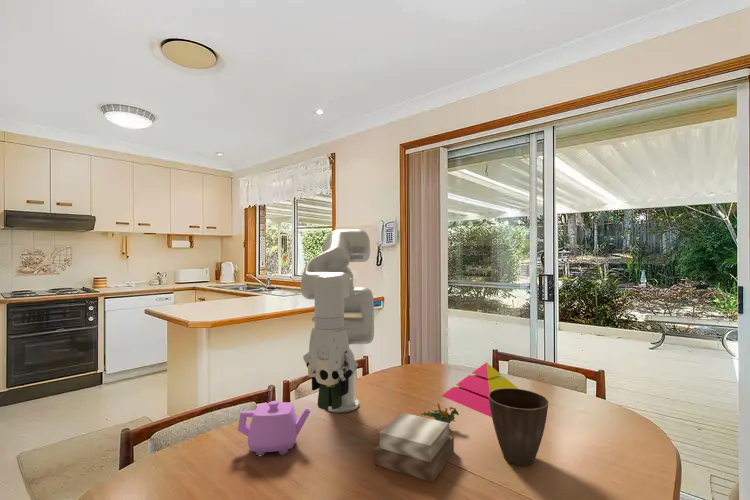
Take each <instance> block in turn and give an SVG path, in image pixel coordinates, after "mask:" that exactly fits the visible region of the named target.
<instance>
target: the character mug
mask: <svg viewBox="0 0 750 500" xmlns="http://www.w3.org/2000/svg"><path fill="white" fill-rule="evenodd" d="M312 368H315V367H314V365H312V364H310V365H308V367H307V377H308V378H312V377H316V380H317V382H318V383H320V384H321V385H320V387H319V388H318V396H317V408H319V409H320V410H323V411H324V410H325V411H328V410H329V407H330V406H332V410H334V409H337V408H339V407H341V406H342V397H341V396H339V380H341V378H340V376H339V374H338V372H337V371H331V370H330V361H329V360H322V359H318V358H316V373H312ZM347 368H348V370H349V368H350V365H349V366H347ZM342 370H343V369H342ZM344 374H345V373H344Z"/></svg>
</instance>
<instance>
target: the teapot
mask: <svg viewBox="0 0 750 500" xmlns="http://www.w3.org/2000/svg"><path fill="white" fill-rule="evenodd" d="M311 410H312V409H311V408H304V411H302V413H301V415H300V416H299V417H297V412H296V409H295V407H294V404H293V403H292V402H286V401H282V402H279V401H277V400H272V401H269V402H267V403H266V402H265V403H260V404H258V405H257V407H256V408H255V409H254V410H253V409H251V410H250V409H249V410H244V409H243V410H242V411H241V412H240V413H239V419H238V426H237V431H238V432H239V433H242V434H243V435H245V436H246V437H247V446H248V448H249V450H250V451H251V452H256V453H255V456H256V455H261V456H260V457H262V455H263V456H265V455H266V453H271V452H272V453H273V452H278V454H279V455H280V454H285V455H287V454H288V453H289V450H291V449H292V448H293V447H294V445H295V443H296V441H297V438H298V435H299V434H300V433H301V430H302V428H303V426H304V424H305V423H306V420H307V419H308V417H309V415H310V413H311ZM247 418H251V421H250V424H248V423H247ZM287 452H288V453H287ZM286 453H287V454H286ZM264 454H265V455H264Z"/></svg>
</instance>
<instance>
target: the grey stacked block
mask: <svg viewBox="0 0 750 500" xmlns="http://www.w3.org/2000/svg"><path fill="white" fill-rule="evenodd" d="M449 427H450V423H447V422H442V421H438V420H436V419H432V418H430V417H429V418H428V417H425V416H419V415H415V414H411V413H406V412H402V413H401V414H399V415H398V416H397V417H396V418H394V419H393V421H391V422H390V423H389V424H388V425H387V426H386V427H384V428H383V429H382V430H381V431H379V444H378V445H377V446H376V447H375V448H374V453H373V454H374V457H373V458H374V466H375V465H376V466H379V467H382V468H385V469H388V470H391V471H394V472H398V473H402V474H405V475H409V476H411V477H414V478H418V479H420V480H424V481H426V482H430V483H434V481H436V479H437V478H438V476H439V474H440V473H441V472H442V470H443V468H444V467H445V465H446V464H447V463H448V461H449V459H450V458H451V457H452V456H453V453H454V452H455V442H454V441H455V440H454V439H455V438H454V436H452V435H450V430H449V429H450V428H449Z"/></svg>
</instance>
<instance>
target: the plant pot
mask: <svg viewBox="0 0 750 500" xmlns="http://www.w3.org/2000/svg"><path fill="white" fill-rule="evenodd" d="M488 396H489V403H490V410H491V415H492V417H491V419H492V424H493V428H494V432H495V436H496V438H497V442H498V445H499V447H500V450H501V452H502V456H503V457H504V460H506V462H508V463H510V464H512V465H515V466H521V467H524V466H526V467H527V466H530V465H532V464H533V463H534V462H535V459H536V457H537V455H538V452H539V448H540V446H541V443H542V439H543V437H544V436H543V435H544V433H545V429H546V428H545V427H546V423H547V416H548V410H549V400H548V399H547V398H546V397H545V396H543V395H542V394H540V393H538V392H534V391H531V390H526V389H520V388H518V389H513V388H503V389H496V390H493V391H491V392H490V393H489V395H488Z"/></svg>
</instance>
